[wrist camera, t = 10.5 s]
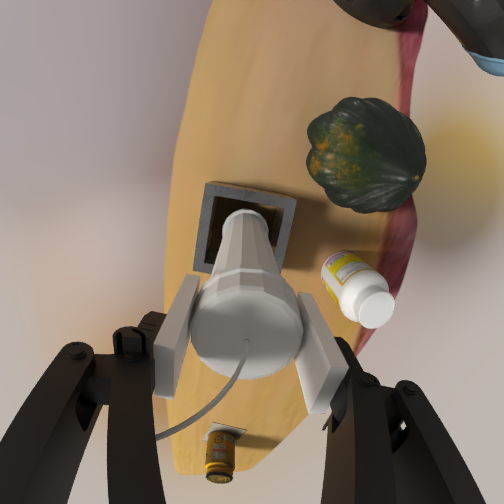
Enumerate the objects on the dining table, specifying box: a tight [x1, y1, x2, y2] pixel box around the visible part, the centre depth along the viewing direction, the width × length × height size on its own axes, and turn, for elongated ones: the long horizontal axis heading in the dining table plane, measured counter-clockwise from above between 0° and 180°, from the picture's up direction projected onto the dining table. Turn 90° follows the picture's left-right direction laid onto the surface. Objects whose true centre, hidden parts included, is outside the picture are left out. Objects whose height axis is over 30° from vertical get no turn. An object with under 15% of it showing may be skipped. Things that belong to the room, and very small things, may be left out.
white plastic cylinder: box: [155, 208, 304, 441], centre depth 21 cm, size 6×6×30 cm
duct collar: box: [193, 181, 297, 274], centre depth 34 cm, size 10×10×6 cm
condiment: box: [202, 422, 245, 484], centre depth 45 cm, size 7×8×12 cm
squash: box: [306, 97, 426, 214], centre depth 29 cm, size 14×15×15 cm
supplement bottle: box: [321, 251, 395, 329], centre depth 34 cm, size 7×7×13 cm
